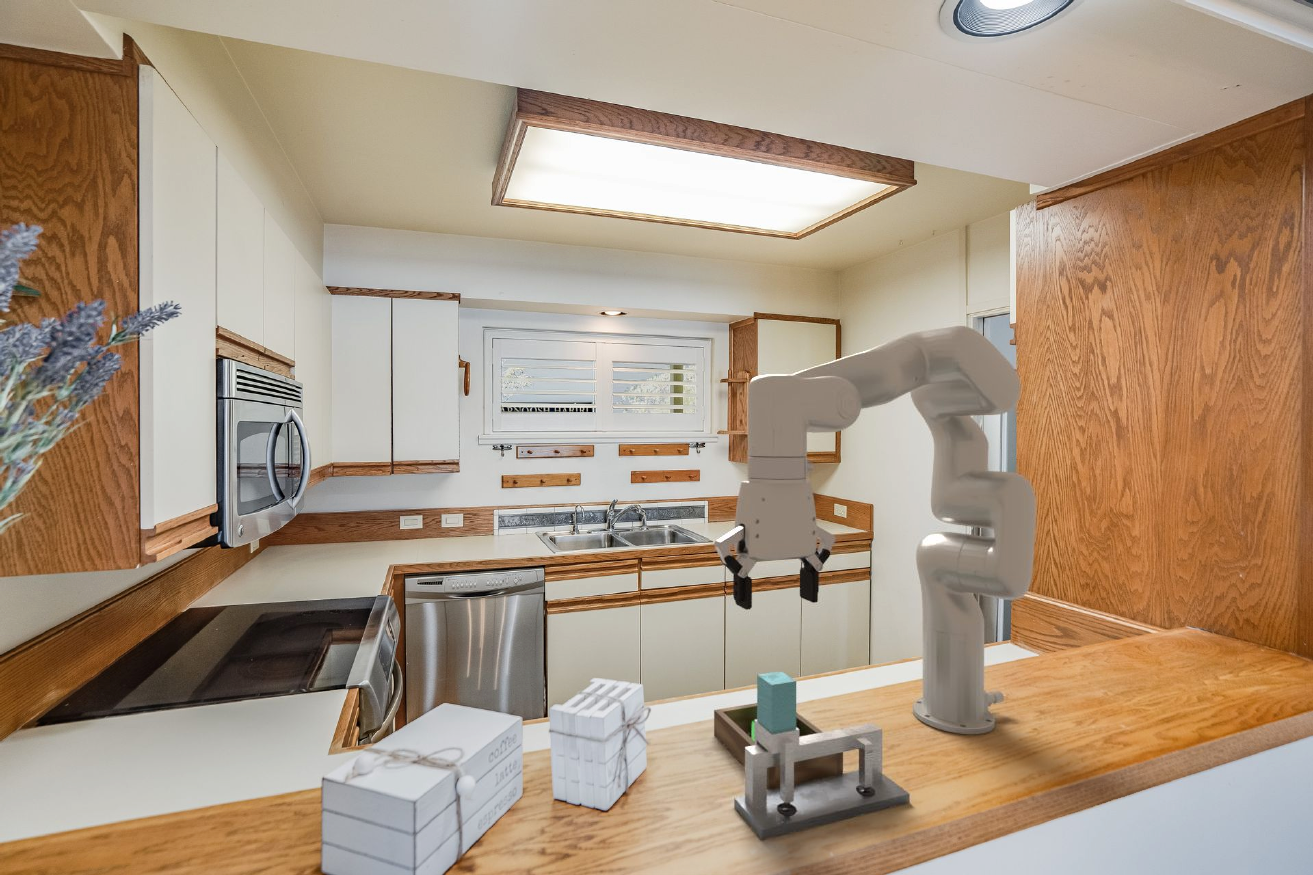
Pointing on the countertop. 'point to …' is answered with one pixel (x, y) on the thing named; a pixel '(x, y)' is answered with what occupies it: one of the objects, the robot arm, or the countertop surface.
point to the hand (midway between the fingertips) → (776, 603)
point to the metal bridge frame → (812, 747)
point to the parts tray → (733, 736)
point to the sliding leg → (778, 725)
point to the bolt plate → (820, 804)
